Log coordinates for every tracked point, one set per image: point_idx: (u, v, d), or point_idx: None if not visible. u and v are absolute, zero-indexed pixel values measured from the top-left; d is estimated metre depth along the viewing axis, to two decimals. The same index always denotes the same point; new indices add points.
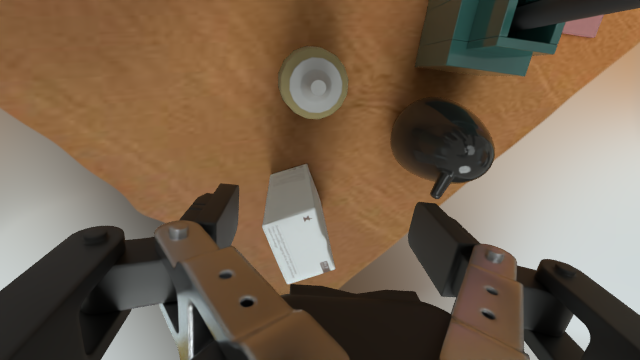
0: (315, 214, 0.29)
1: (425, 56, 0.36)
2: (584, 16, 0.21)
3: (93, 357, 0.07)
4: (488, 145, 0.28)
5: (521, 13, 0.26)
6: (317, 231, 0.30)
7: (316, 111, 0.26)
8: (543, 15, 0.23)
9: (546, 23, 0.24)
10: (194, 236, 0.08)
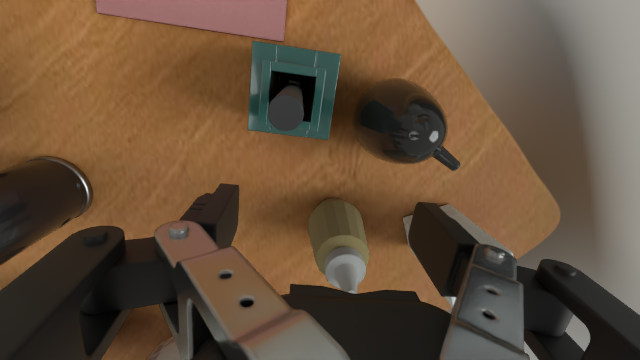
0: None
1: None
2: None
3: (93, 358, 0.07)
4: (412, 125, 0.28)
5: None
6: None
7: (364, 271, 0.33)
8: None
9: None
10: (194, 236, 0.08)
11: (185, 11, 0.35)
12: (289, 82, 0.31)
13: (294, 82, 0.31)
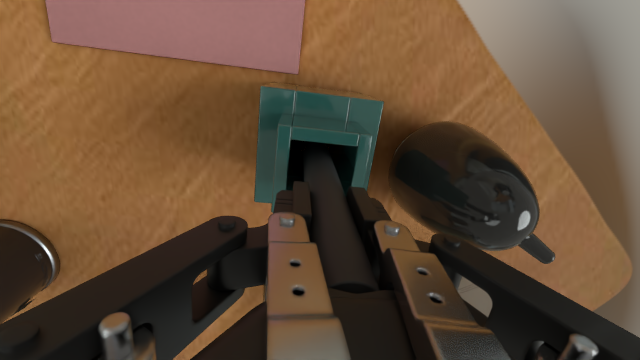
0: None
1: None
2: None
3: (199, 325, 0.08)
4: (494, 209, 0.19)
5: None
6: None
7: None
8: None
9: None
10: (302, 225, 0.09)
11: (169, 38, 0.27)
12: None
13: None
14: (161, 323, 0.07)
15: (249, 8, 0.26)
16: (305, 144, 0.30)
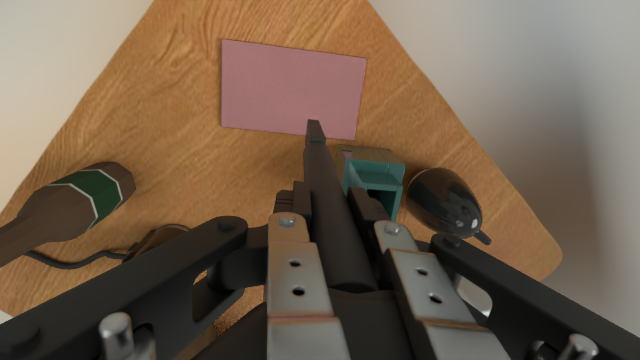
0: (484, 312, 0.47)
1: None
2: None
3: (198, 325, 0.08)
4: (459, 219, 0.41)
5: None
6: None
7: None
8: None
9: None
10: (302, 225, 0.09)
11: (284, 123, 0.48)
12: (311, 139, 0.22)
13: (318, 139, 0.22)
14: (161, 323, 0.07)
15: (329, 107, 0.48)
16: (305, 144, 0.30)
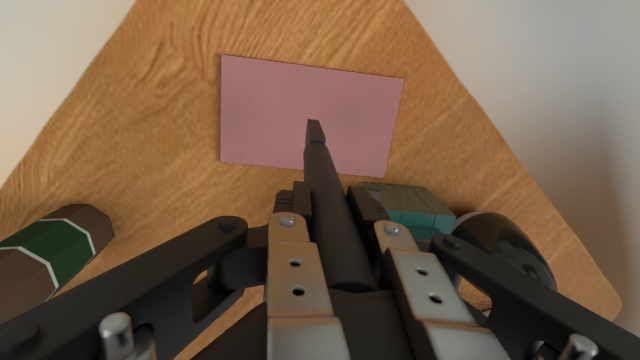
0: None
1: None
2: None
3: (199, 325, 0.08)
4: None
5: None
6: None
7: None
8: None
9: None
10: (303, 225, 0.09)
11: (299, 158, 0.39)
12: (311, 139, 0.22)
13: (318, 139, 0.22)
14: (161, 323, 0.07)
15: (355, 138, 0.39)
16: (305, 144, 0.30)
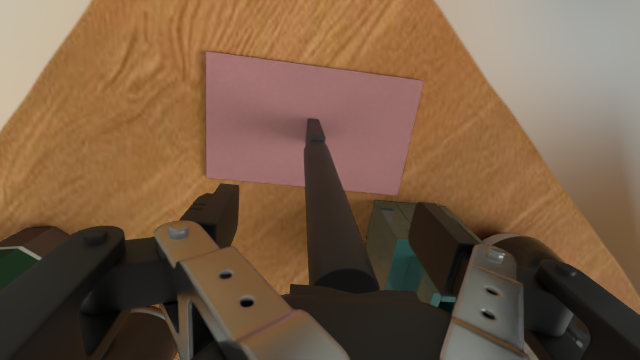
0: None
1: None
2: None
3: (93, 357, 0.07)
4: (582, 342, 0.25)
5: None
6: None
7: None
8: None
9: None
10: (194, 236, 0.08)
11: (299, 173, 0.33)
12: (311, 138, 0.23)
13: (318, 138, 0.23)
14: None
15: (365, 150, 0.33)
16: (305, 143, 0.30)
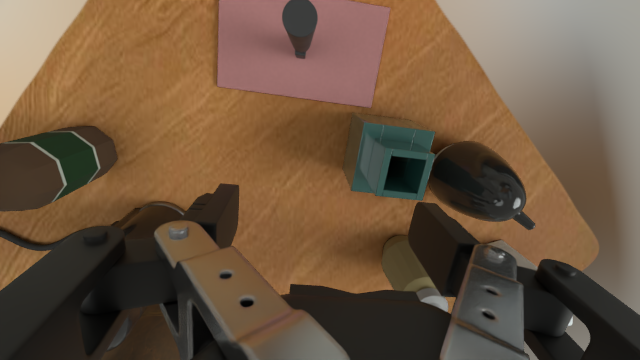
0: None
1: None
2: None
3: (93, 358, 0.07)
4: (500, 196, 0.34)
5: (299, 49, 0.28)
6: None
7: (447, 309, 0.39)
8: (305, 47, 0.25)
9: (311, 40, 0.25)
10: (194, 236, 0.08)
11: (291, 84, 0.42)
12: None
13: None
14: None
15: (344, 66, 0.41)
16: None
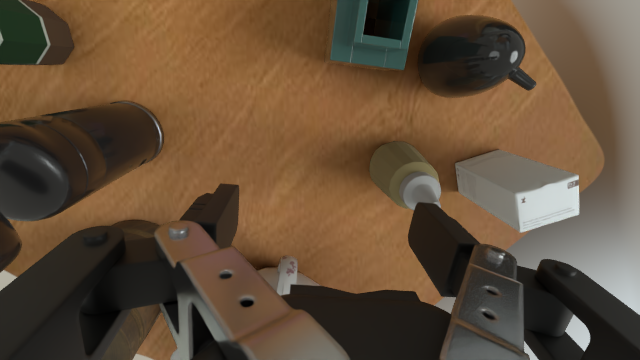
0: (521, 193, 0.36)
1: (381, 69, 0.41)
2: None
3: (93, 358, 0.07)
4: (496, 41, 0.30)
5: None
6: (537, 191, 0.36)
7: (439, 193, 0.35)
8: None
9: None
10: (194, 236, 0.08)
11: None
12: None
13: None
14: None
15: None
16: None
